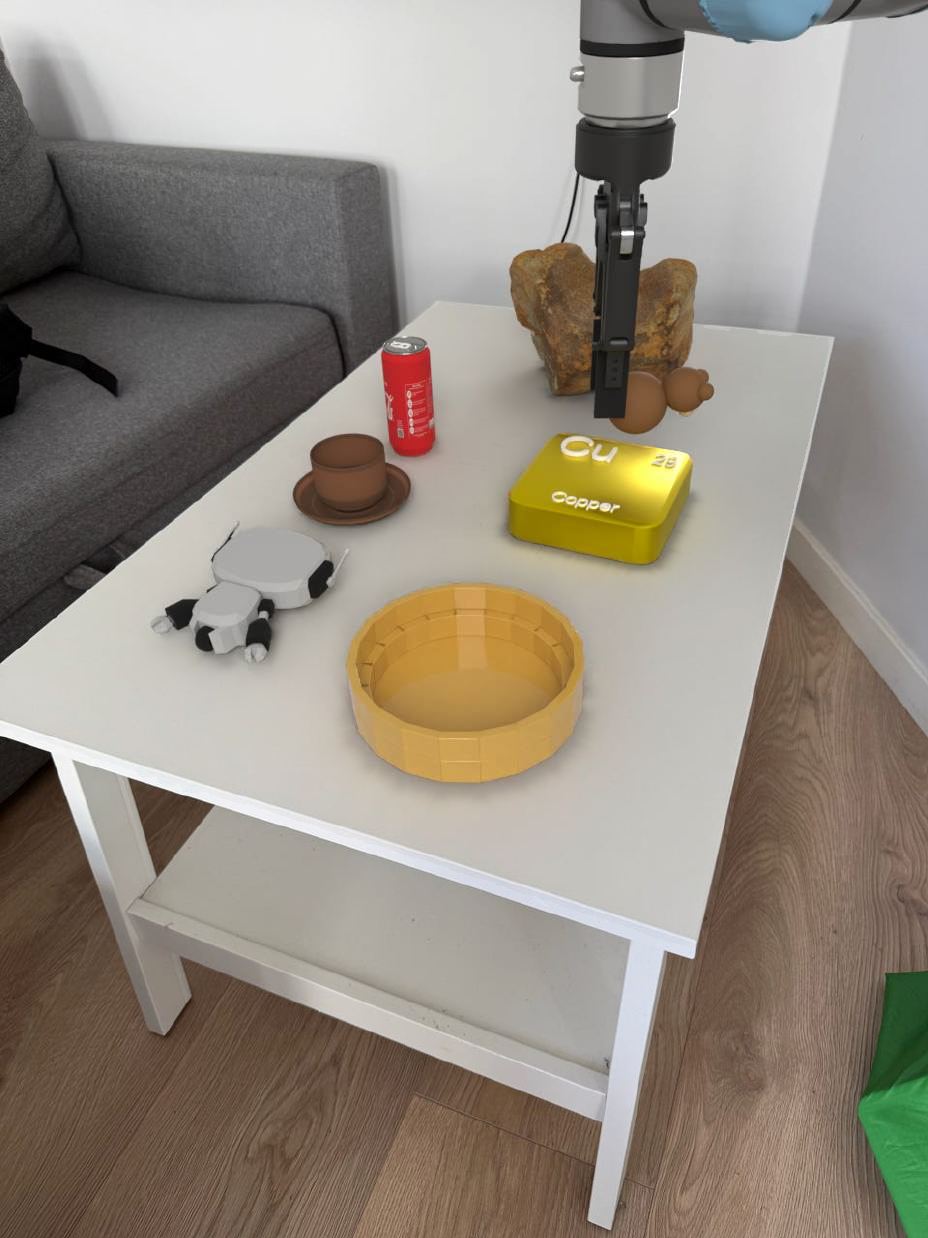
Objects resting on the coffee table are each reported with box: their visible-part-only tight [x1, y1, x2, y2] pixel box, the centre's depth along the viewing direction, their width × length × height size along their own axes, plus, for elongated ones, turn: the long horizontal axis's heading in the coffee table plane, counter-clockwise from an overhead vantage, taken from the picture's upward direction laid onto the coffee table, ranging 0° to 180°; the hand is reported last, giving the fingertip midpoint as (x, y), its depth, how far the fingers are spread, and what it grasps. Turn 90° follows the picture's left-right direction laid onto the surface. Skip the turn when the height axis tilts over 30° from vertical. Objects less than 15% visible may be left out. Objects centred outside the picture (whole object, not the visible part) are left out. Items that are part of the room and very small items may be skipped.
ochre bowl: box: [345, 582, 585, 784], centre depth 69 cm, size 17×17×5 cm
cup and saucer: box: [292, 432, 412, 526], centre depth 92 cm, size 12×12×6 cm
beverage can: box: [380, 335, 436, 458], centre depth 99 cm, size 5×5×12 cm
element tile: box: [507, 432, 694, 565], centre depth 89 cm, size 15×15×5 cm
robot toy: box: [150, 520, 351, 663], centre depth 79 cm, size 12×4×15 cm
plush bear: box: [608, 366, 715, 435], centre depth 83 cm, size 6×6×10 cm
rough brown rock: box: [508, 241, 698, 397], centre depth 110 cm, size 23×17×15 cm
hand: (606, 401), depth 84 cm, fingers closed on plush bear, 5 cm apart
